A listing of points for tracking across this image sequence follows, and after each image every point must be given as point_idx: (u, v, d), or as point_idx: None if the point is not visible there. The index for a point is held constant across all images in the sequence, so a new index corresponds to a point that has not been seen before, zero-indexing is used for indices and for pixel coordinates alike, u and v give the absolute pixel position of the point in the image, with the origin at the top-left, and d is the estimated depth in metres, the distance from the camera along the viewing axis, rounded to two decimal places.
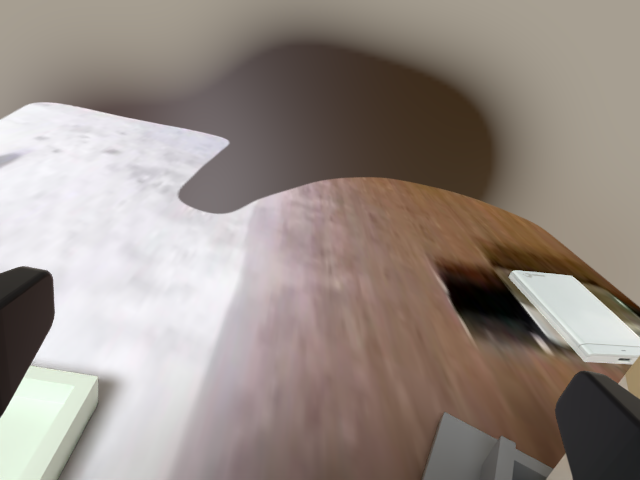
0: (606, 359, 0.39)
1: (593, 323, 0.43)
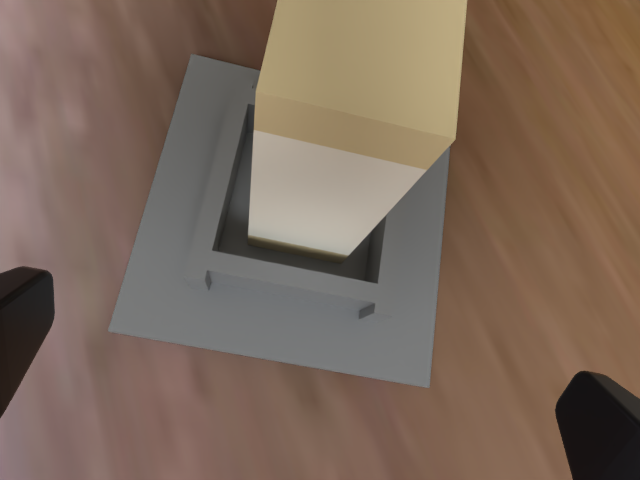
0: None
1: None
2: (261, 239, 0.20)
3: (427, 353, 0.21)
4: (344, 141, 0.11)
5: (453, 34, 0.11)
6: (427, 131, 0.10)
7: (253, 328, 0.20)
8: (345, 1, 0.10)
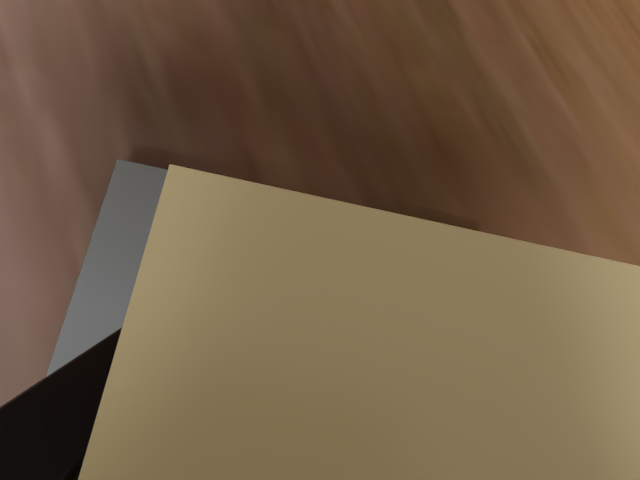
0: None
1: None
2: None
3: None
4: None
5: (636, 460, 0.04)
6: None
7: None
8: (318, 392, 0.03)
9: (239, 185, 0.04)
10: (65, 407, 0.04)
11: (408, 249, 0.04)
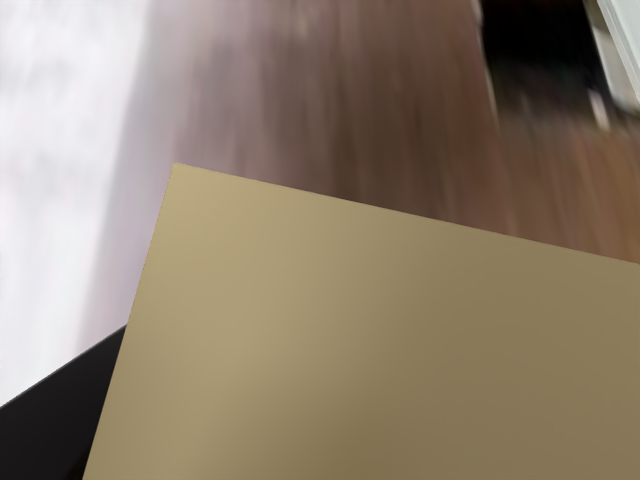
0: None
1: None
2: None
3: None
4: None
5: (639, 458, 0.04)
6: None
7: None
8: (322, 389, 0.03)
9: (243, 183, 0.04)
10: (65, 407, 0.04)
11: (412, 247, 0.04)
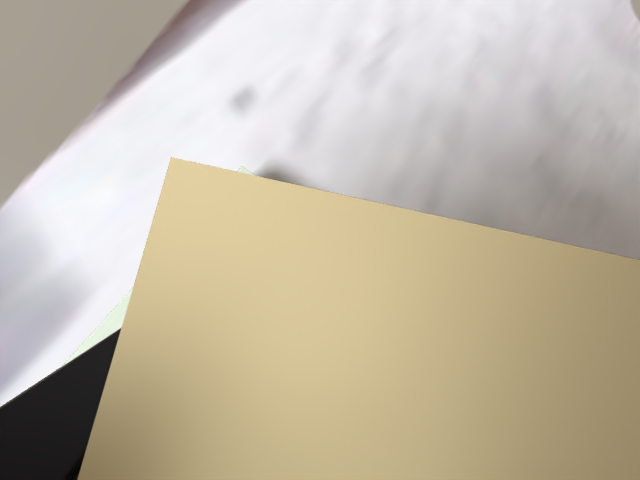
0: None
1: None
2: None
3: None
4: None
5: (637, 452, 0.04)
6: None
7: None
8: (319, 384, 0.03)
9: (240, 178, 0.04)
10: (65, 407, 0.04)
11: (409, 242, 0.04)
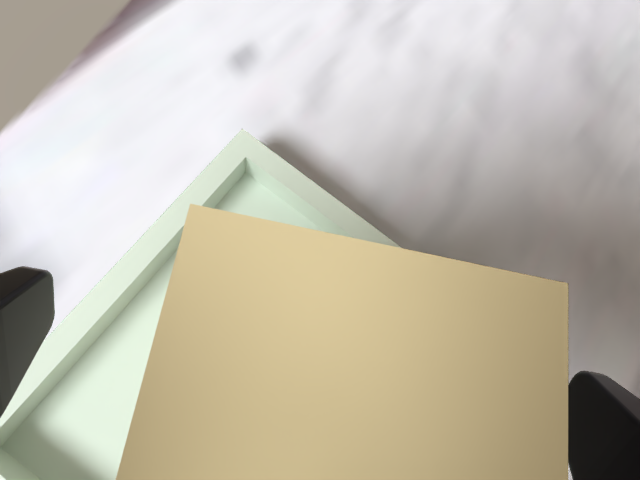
0: None
1: None
2: None
3: None
4: None
5: (545, 429, 0.05)
6: None
7: None
8: (302, 376, 0.05)
9: (243, 218, 0.05)
10: None
11: (373, 268, 0.05)
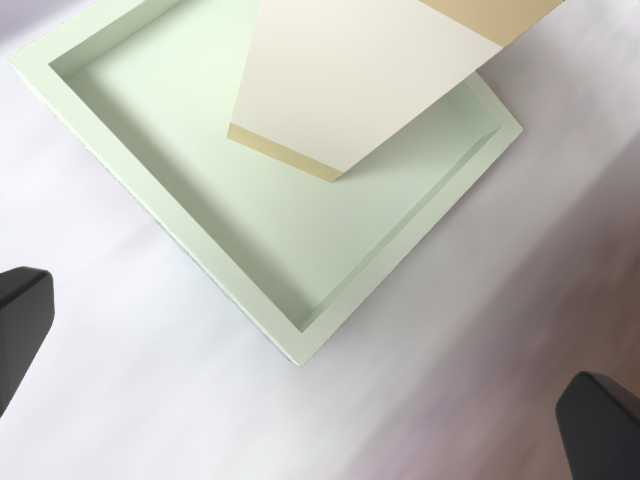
0: None
1: None
2: (245, 132, 0.16)
3: None
4: None
5: None
6: None
7: None
8: None
9: None
10: None
11: None
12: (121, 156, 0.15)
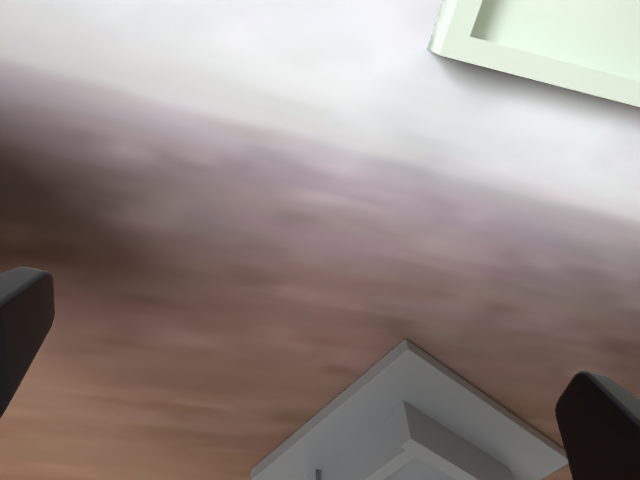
0: None
1: None
2: None
3: None
4: None
5: None
6: None
7: (349, 419, 0.26)
8: None
9: None
10: None
11: None
12: None
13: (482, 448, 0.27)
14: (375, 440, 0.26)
